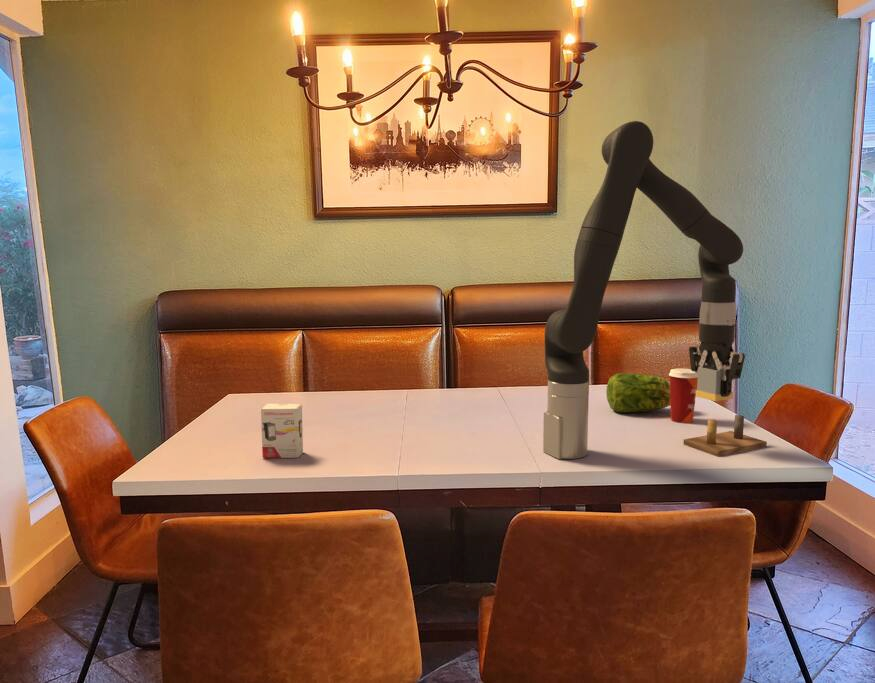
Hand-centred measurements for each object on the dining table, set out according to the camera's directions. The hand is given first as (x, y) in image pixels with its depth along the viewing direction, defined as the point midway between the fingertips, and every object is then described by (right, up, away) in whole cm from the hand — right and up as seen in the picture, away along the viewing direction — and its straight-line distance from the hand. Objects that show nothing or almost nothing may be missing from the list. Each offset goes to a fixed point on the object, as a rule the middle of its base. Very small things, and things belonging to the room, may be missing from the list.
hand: (714, 393), depth 141 cm
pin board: (+4, -13, +4) cm, 14 cm away
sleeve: (0, -1, 0) cm, 1 cm away
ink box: (-101, -15, 0) cm, 102 cm away
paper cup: (+3, -10, +26) cm, 28 cm away
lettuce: (-5, -9, +36) cm, 37 cm away
